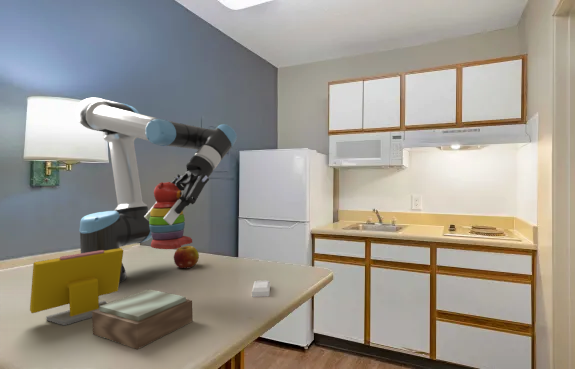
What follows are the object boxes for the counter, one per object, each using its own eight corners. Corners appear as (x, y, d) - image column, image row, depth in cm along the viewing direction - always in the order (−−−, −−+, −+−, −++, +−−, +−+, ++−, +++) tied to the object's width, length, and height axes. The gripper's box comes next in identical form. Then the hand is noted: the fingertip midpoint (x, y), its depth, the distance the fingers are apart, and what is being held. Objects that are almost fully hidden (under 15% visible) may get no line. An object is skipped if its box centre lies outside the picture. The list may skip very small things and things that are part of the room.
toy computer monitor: (116, 300, 96) (114, 245, 96) (129, 306, 91) (127, 248, 91) (30, 324, 81) (28, 258, 81) (40, 333, 76) (38, 262, 76)
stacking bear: (176, 249, 89) (173, 181, 88) (141, 249, 90) (138, 182, 90) (194, 242, 99) (192, 181, 99) (163, 241, 101) (161, 182, 101)
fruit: (168, 269, 130) (168, 248, 130) (182, 263, 139) (182, 244, 139) (190, 270, 127) (190, 249, 127) (203, 264, 136) (202, 245, 136)
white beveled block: (251, 298, 97) (251, 288, 97) (254, 288, 106) (254, 279, 106) (269, 297, 97) (269, 288, 97) (270, 287, 106) (269, 279, 106)
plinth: (92, 334, 75) (92, 307, 75) (150, 310, 88) (149, 287, 88) (137, 349, 67) (136, 319, 67) (192, 321, 80) (192, 296, 80)
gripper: (234, 170, 100) (189, 232, 88) (189, 173, 113) (146, 226, 101) (219, 152, 96) (170, 213, 83) (175, 156, 109) (127, 210, 97)
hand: (157, 220), depth 92 cm, fingers closed on stacking bear, 9 cm apart
